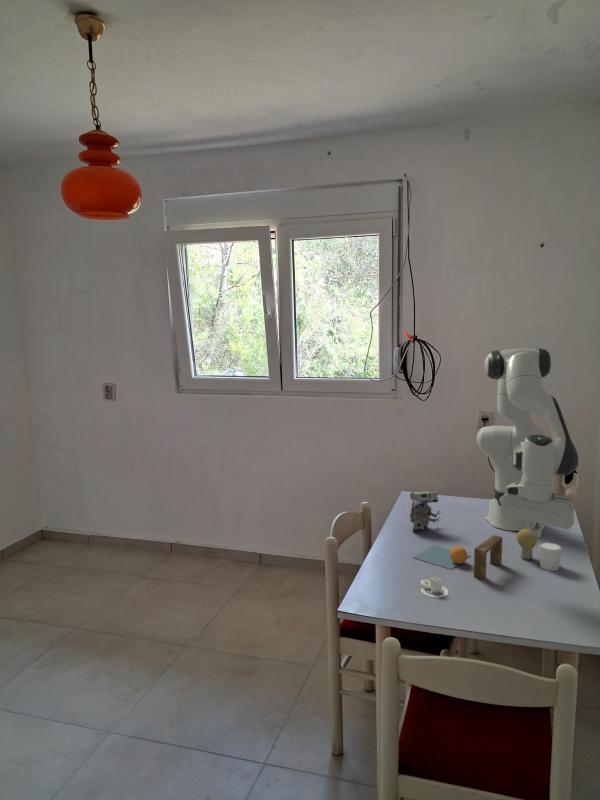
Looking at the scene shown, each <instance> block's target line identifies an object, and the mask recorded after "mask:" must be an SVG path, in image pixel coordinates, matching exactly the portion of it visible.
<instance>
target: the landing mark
mask: <svg viewBox="0 0 600 800" xmlns="http://www.w3.org/2000/svg"><path fill="white" fill-rule="evenodd" d="M451 550H452V549H450V548H447V547H442V546H440V545H435V544H432V545H431V546H429V547H427V548H426V549H424V550H423V551H421V552H420V553H417V554H416V555H415V556H413V559H414V560H418V561H422V562H424V563H428V564H431V565H435V566H437V565H438V566H437V567H440V568H445V569H447V570H450V571H451V570H452V571H453V570H454V569H455V568H456V567H457V566H459V565H460V564H457V563H455V562H453V561H452V560H451V558H450V551H451ZM469 557H471V554H468V553H467V559H468V558H469Z"/></svg>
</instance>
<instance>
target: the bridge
mask: <svg viewBox="0 0 600 800" xmlns="http://www.w3.org/2000/svg"><path fill="white" fill-rule="evenodd" d="M488 552H489V553H490V554H489V555H490V557H489V558H490V559H489V564H491V565H494V566H497V567H499V566H501V565H502V564H503V563H502V562H503V561H502V559H503V537H502V536H499V535H495V534H493V535H491V536H490V537H488V538H487V539H486V540H484V541H483V542H481V543H480V544H479V545H478V546H476V547H474V555H473V557H474V558H473V578H476V579H479V580H483V581H484V580H485V579H486V578H487V553H488Z"/></svg>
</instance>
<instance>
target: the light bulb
mask: <svg viewBox="0 0 600 800" xmlns="http://www.w3.org/2000/svg"><path fill="white" fill-rule="evenodd" d="M516 540H517V543H518V545H519V546H520V554H519V555H520V556H519V557H520V558H521V559H523V560H526V561H527V560H531V559H533V549H534V547H535V546H536V545H537V544H538V537H536V536H532V535H529V529H522V530H520V531H518V532H517V534H516Z"/></svg>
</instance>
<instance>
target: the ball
mask: <svg viewBox="0 0 600 800" xmlns="http://www.w3.org/2000/svg"><path fill="white" fill-rule="evenodd" d="M450 550H451V551H450V558H451V560H452V561H453V562H455V563H457V564H459V565H461V564H463V563H465V562H466V561H467V559H468V558H467V554H468V552H467V551H466V549H465V548H463V547H462V546H457V545H456V546H454V547H453V548H451V549H450Z"/></svg>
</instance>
